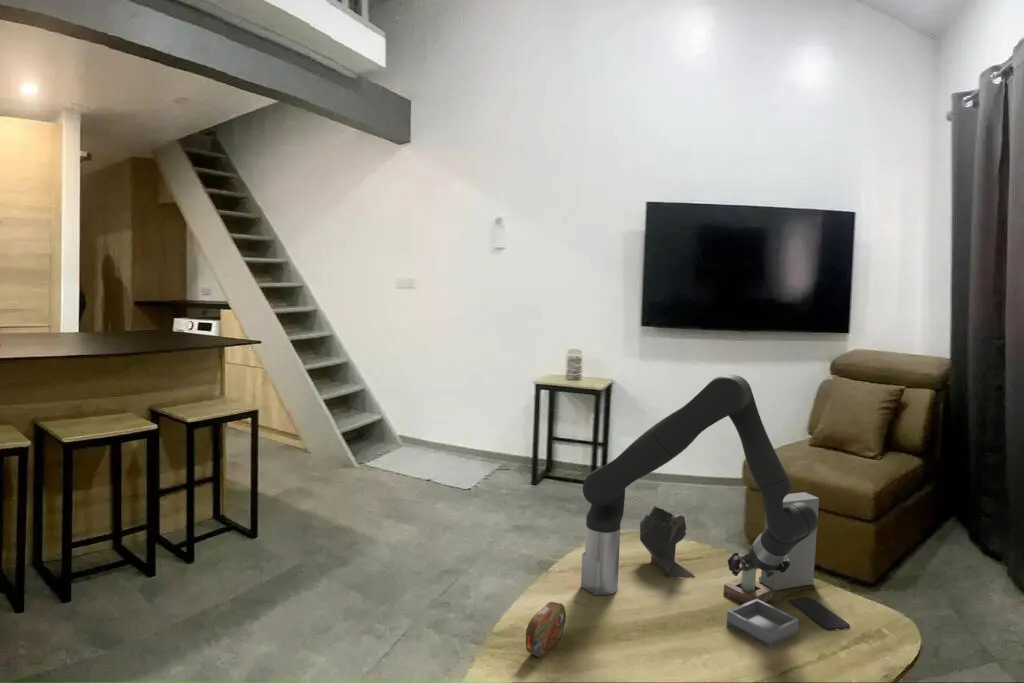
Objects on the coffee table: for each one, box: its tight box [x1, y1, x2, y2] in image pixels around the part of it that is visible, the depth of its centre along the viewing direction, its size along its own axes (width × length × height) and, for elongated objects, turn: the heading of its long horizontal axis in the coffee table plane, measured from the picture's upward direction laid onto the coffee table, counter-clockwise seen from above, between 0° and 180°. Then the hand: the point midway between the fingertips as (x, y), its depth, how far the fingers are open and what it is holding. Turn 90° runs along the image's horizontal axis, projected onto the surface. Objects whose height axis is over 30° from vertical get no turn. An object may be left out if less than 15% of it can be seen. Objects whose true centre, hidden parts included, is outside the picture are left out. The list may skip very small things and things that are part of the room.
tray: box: [726, 599, 800, 649], centre depth 149 cm, size 12×12×4 cm
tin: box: [525, 601, 567, 658], centre depth 140 cm, size 15×3×8 cm, turn 148°
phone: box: [787, 596, 851, 631], centre depth 157 cm, size 7×1×15 cm
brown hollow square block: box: [723, 576, 773, 604], centre depth 165 cm, size 9×9×2 cm
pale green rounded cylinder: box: [740, 565, 757, 593], centre depth 165 cm, size 4×4×10 cm
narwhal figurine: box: [639, 505, 696, 578], centre depth 182 cm, size 14×15×18 cm
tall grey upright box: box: [758, 491, 820, 592], centre depth 172 cm, size 14×6×25 cm, turn 108°
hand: (750, 572), depth 164 cm, fingers open, 8 cm apart
